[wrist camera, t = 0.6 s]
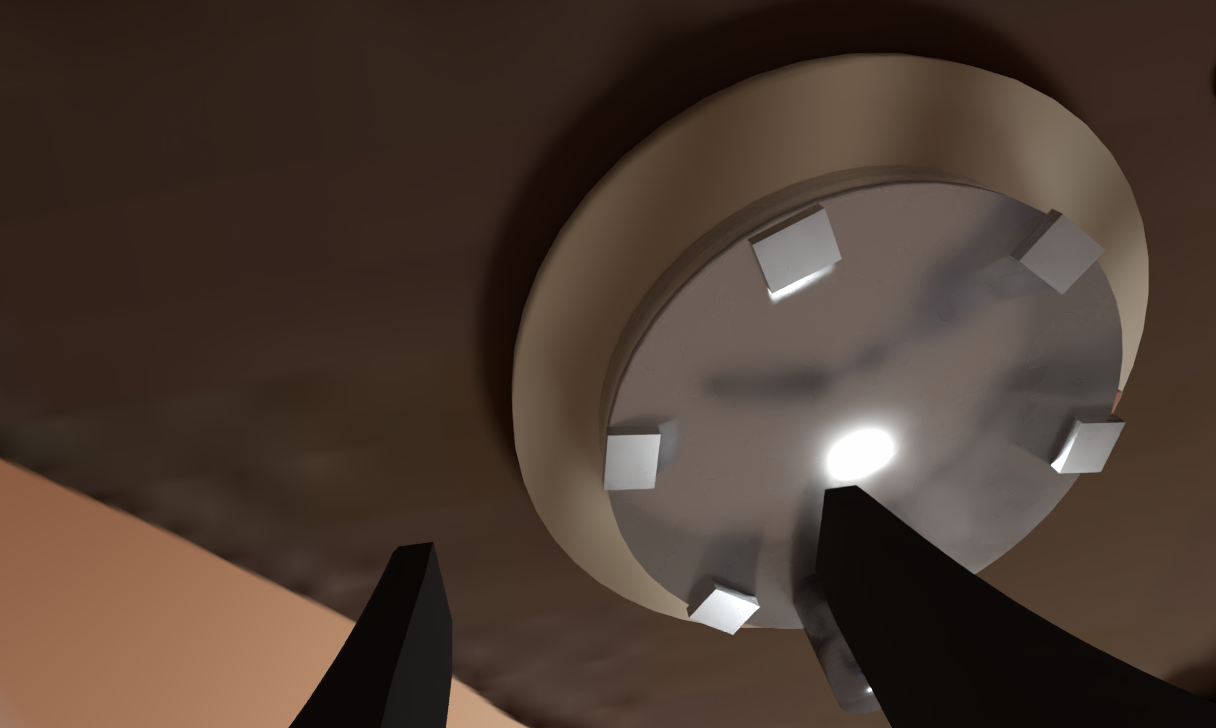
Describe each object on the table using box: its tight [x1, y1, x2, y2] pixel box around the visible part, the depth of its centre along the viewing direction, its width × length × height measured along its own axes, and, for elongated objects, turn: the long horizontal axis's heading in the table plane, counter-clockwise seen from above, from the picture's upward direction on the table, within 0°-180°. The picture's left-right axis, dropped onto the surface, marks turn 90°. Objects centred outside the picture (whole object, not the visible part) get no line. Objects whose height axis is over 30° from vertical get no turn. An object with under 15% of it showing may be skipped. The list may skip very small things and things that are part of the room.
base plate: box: [512, 53, 1148, 628], centre depth 23 cm, size 20×20×2 cm
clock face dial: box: [598, 165, 1125, 714], centre depth 20 cm, size 15×15×6 cm
